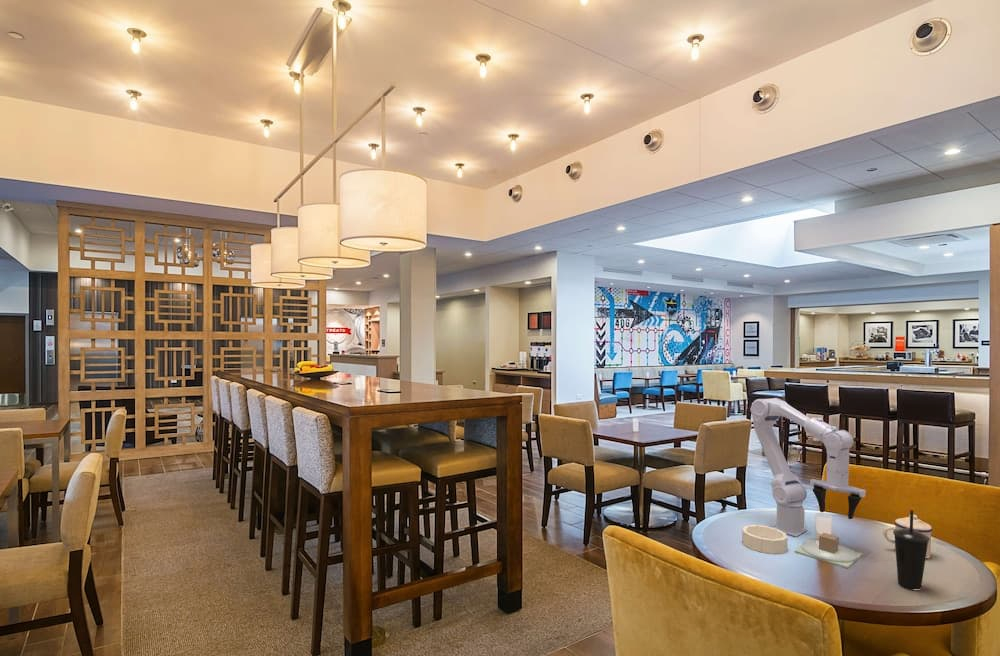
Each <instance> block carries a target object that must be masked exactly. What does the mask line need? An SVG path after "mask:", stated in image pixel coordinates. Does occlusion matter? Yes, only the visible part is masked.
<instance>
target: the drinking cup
mask: <svg viewBox="0 0 1000 656" xmlns="http://www.w3.org/2000/svg"><path fill="white" fill-rule="evenodd" d="M909 515H910V529H896V530H893V532H892V533H893V536H894V541H895V544H894V549H895V548H896V550H895V558H896V573H897V584H898V586H900V587H901V588H903V587H904V589H906V588H907V589H906V590H909V589H920V588H921V589H922V585H923V577H924V573H925V564H926V560H927V559H926V552H927V545H928V542H929V540H930V538H929V537H928V536H926V535H924V534H923V533H921V532H919V531H916V530H913V515H914V510H913V509H910V511H909Z"/></svg>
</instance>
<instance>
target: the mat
mask: <svg viewBox="0 0 1000 656" xmlns="http://www.w3.org/2000/svg"><path fill="white" fill-rule="evenodd" d="M811 540H814V539H813V538H811V539H810V540H808V541H811ZM853 551H854V552H855V553H856V555H857V558H856V560H855V561H853V562H848V563H841V562H832V561H827V560H823V559H819V558H816V557H814V556H812V555H810V554H808V553H806V552H805V551H804V550H803V549H802V545H801V546H799V547H798V548H796V549H795V550H794V551H793V552H794V553H795V554H800V555H803V556H806V557H809V558H812V559H814V560H819V561H822V562H825V563H828V564H831V565H835V566H837V567H841V568H844V569H847V570H848V569H849V568H850V567H851V566H853V564H855V563H856V562H857V561H858V560H859V559H860V558H862V557H863V555H864V553H862V552H858V551H855V550H853Z"/></svg>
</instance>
